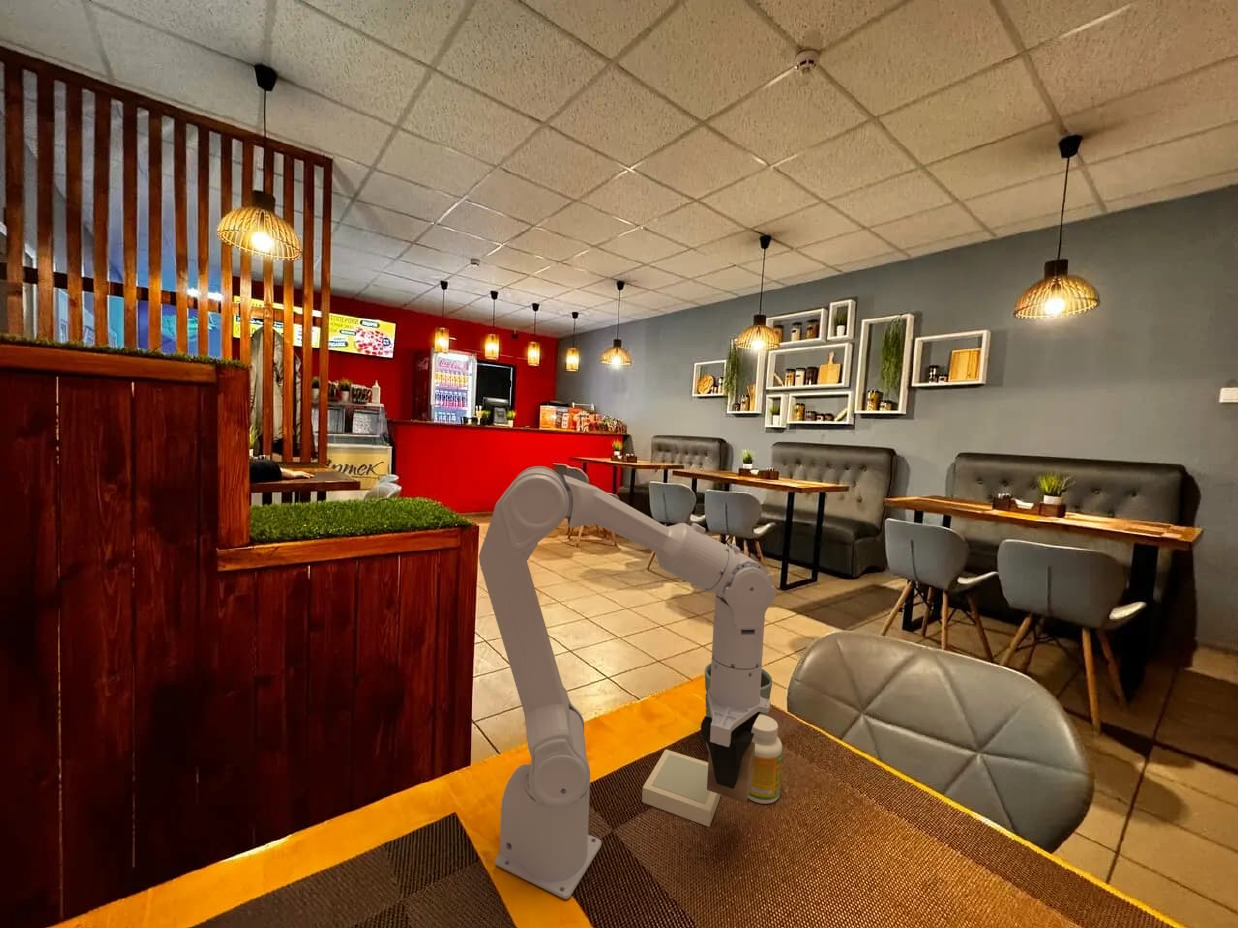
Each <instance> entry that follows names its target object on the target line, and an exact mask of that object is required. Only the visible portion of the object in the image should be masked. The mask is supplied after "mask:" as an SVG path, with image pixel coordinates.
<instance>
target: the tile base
mask: <svg viewBox="0 0 1238 928" xmlns="http://www.w3.org/2000/svg"><path fill="white" fill-rule="evenodd" d="M707 777H708V761H705V760H701V759H698V758H695V757H692V756H689V755H685V754H682V753H679V752H675V751H672V750H669V749H664V751H663V753H662V754H661V756H660V757H659V760H658V761H657V763H656V765H655V766H654V768H653V769H652V771H651V773H650V775H649V776H648V778H647V779H646V781H645V783H644V785H643V786H642V793H641V797H642V798H641V803H644V804H645V805H647V806H652V807H655V808H657V809H659V810H662V811H666V812H668V813H671V814H674V815H676V816H679V817H681V818H684V819H687V820H690V821H692V822H696V823H697V824H700V825H703V826H705V827H708V828H710V827H711V824H712V821H713V818H714V815H715V813H716V810H717V808H718V804H719V801H720V799H721V796H722V795H720V794H717V793H714V792H711V791H709V790H707Z"/></svg>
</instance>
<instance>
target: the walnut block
mask: <svg viewBox="0 0 1238 928" xmlns="http://www.w3.org/2000/svg"><path fill="white" fill-rule="evenodd" d="M754 756H755V742H751V744H750V745H749V747H748V749H747V750H746V751H745V753H744V755H743V758H742V762H741V766H740V771H739V776H738V779H737V782H736V785H735V788H734V789H732V788H729V787H726V786H723V785H720V784H717V783H716V780H715V775H714V770H713V764H712V758H711V754H710V751H708V757H707V758H708V759H707V760H708V761H707V762H708V777H707V790H709V791H711V792H714V793H717V794H720V795H721V796H723V797H727V798H730V799H732V800H734V801H738V802H741V803H744V804H747V802H748V799H749V798H748V795H749V792H750V788H751V785H752V781H753V773H754Z"/></svg>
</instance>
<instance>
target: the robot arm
mask: <svg viewBox="0 0 1238 928" xmlns="http://www.w3.org/2000/svg"><path fill="white" fill-rule="evenodd" d="M563 477H564V480H565V481H564V480H563V479H562V477H561V476H560V474H559V473H557V472H556V470H553V469H552V468H549V467H547V466H541V465H539V466H538V465H537V466H532V467H528V468H526V469H525V470H523V471H521V472H520V473H519V474H518V475H517V476H516V478H515V479H514V480H513V481H512V482H511V484H510V485H509V486H508V487H507V488H506V490H505V491H504V492H503V494H502V495H501V496H500V498H499V499H498V500H497V502H496V503H495V506H494V510H493V514H492V517H491V519H490V522H489V524H488V527H487V531H486V533H485V536H484V538H483V539H484V540H483V542H482V545H481V547H480V551H479V556H478V562H479V566H480V569H481V570H480V571H481V573H482V576H483V580H484V583H485V586H486V590H487V593H488V596H489V600H490V603H491V607H492V610H493V613H494V617H495V620H496V623H497V626H498V630H499V634H500V636H501V641H502V643H503V647H504V650H505V653H506V656H507V657H506V658H507V661H508V664H509V667H510V670H511V674H512V678H513V680H514V684H515V687H516V690H517V694H518V697H519V701H520V705H521V708H522V711H523V714H524V722H525V723H524V724H525V730H526V731H525V732H526V733H525V734H526V741H527V747H528V752H529V755H530V764H528V763H524V764H521V765H519V766H518V767H517V768H516V769H515V771H514V772H513V773H512V775H511V776H510V778H509V779H508V781H507V784H506V786H505V788H504V792H503V795H502V799H501V805H500V830H499V831H500V835H499V838H500V839H499V854H498V855H497V856H496V858H495V859H494V861H495V862H494V863H495V866H497V867H499V868H501V869H503V870H505V871H507V872H510V873H511V874H513V875H515V876H517V877H519V878H522V879H523V880H526V881H527V882H530V883H532V884H534V885H536V886H537V887H539V888H542V889H544V890H546V891H548V892H549V893H551V894H554V895H556V896H558V897H559V898H562V899H564V900H567V899H569V898H570V897H571V896H572V895H573V893H574V891H575V889H576V888H577V886H578V885H579V883H580V882H581V880H582V878H583V877H584V875H585V874H586V872H587V870H588V868H589V867H590V865H591V864H592V862H593V860H594V858H595V857H596V856H597V854H598V852H599V851H600V849H601V847H602V840H601V839H600V838H597V837H595V836H593V835H590V834H589V815H590V813H589V812H590V791H591V790H590V788H591V769H590V767H591V766H590V763H589V761H588V754H587V746H586V738H585V720H584V717H583V715H582V713H581V712H580V711H579V710H578V709H577V708H576V706H574V705H573V703H572V702H571V700H570V696H569V694H568V691H567V689H566V687H564V685H563V682H562V678H561V674H560V671H559V667H558V663H557V661H556V657H555V653H554V651H553V646H552V643H551V639H550V636H549V632H548V629H547V626H546V622H545V620H544V619H545V618H544V616H543V615H544V614H543V612H542V608H541V606H540V605H541V604H540V602H539V598H538V595H537V591H536V588H535V583H534V581H533V577H532V574H531V569H530V567H529V564H528V560H529V559H530V557H531V556H532V554H533V552H534V551H535V550H536V549H537V546H538V545H539V543H540V542H541V541H542V540H544V538H546V537H547V536H549V535H550V534H551V533H553V532H554V531H555V530H556V529H557V528H558V527H559V526H561V524H562V523H563V522H564V520H565V518H566V519H567V520H566V521H567V524H568V528H569V529H570V528H571V529H572V528H573V529H574V528H578V527H579V528H580V527H584V526H589V525H597V526H599V527H601V528H603V529H606V530H607V531H610V532H612V533H614V534H616V535H618V536H620V537H623V538H625V539H627V540H628V541H630V542H632V543H634V544H637V545H638V546H639V545H640V546H641V547H643V548H645V549H648V550H650V551H652V552H653V553H655V555H656V558H657V562H658V566H659V567H660V569H662V570H664V571H665V572H668V573H669V574H671V575H673V576H675V577H677V578H679V579H681V580H682V581H685V582H687V583H689V584H691V585H692V586H694V587H696V588H699V589H700V590H702V591H704V592H707V593H710V594H716V595H715V598H714V615H713V623H712V624H713V626H712V642H711V643H712V644H711V663H710V664H711V679H710V688H709V690H708V701H709V707H710V712H711V717H712V718H710V717H707V716H706V715H705V716H704V717H703V719H702V721H701V722H700V732H701V735H702V737H703V738H704V740H705V744H706V743H707V745H708V748H709V750H710V754H711V758H712V764H713V770H714V775H715V780H716V783H717V784H720V785H723V786H726V787H729V788H732V789H734V788H735V785H736V782H737V779H738V776H739V771H740V766H741V762H742V758H743V755H744V753H745V751H746V750H747V749H748V747H749V745H750V744H751V742H752V739H753V736H754V733H751V731H752V728H753V725H754V723H755V721H756V719H757V717H758V716H759V714H760V713H761V712H763V713H767V714H768V713H769V712H770V710H771V700H770V699H765V698H762V697H761V696H760V689H761V672H762V669H763V668H762V667H763V653H764V652H763V651H764V637H765V635H764V634H765V633H764V632H765V621H766V620H765V618H766V617H765V616H766V612H767V610H768V609H769V608H770V606H771V605H772V604H773V602H774V601H775V598H776V597H777V591H778V589H777V587H775V586H774V581H773V578H772V574H770V573H769V572H770V571H769V570H768V569H767V567H765V566H764V565H762V564H761V563H759V562H757V561H756V560H754V559H753V558H751V557H750V556H748V555H746V554H744V553H743V552H742V551H741V549H740V547H738V546H737V545H735V544H732V543H729V544H728V545H726V544H724V543H722V542H721V541H720V540H719V541H718V540H717V539H715V538H713V537H711V536H709V535H708V534H706V533H705V532H706V528H705V527H703V526H701V525H700V524H698V523H696V522H692V524H691V525H689V524H687V523H685V522H680V523H676V524H673V525H669V526H666V525H664V524H662V523H660V522H659V521H657V520H655V519H653V518H651V517H650V516H648V515H646V514H645V513H643V512H641V511H640V510H637V509H635V508H634V507H633V506H630V505H628V504H627V503H625V502H623V501H622V500H619V499H618V498H617V497H614V496H613V495H612V494H609V493H607V492H606V491H604V490H602V489H600V488H599V487H597V486H595V485H593V484H589V483H587V482H585V481H582V480H579V479H577V478H574V477H571V476H570V475H569V476H568V475H566V474H563Z"/></svg>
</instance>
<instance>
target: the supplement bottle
mask: <svg viewBox="0 0 1238 928" xmlns="http://www.w3.org/2000/svg"><path fill="white" fill-rule="evenodd" d="M778 732H779V725H778V722H777V721H776V720H775V719H774V718H772V717H770V716H768V715H767V716H765V715H760V714H759V716H758V717H757V719H756V721H755V723H754V725H753V728H752V731H751V733H754V736H753V739H752V742H755V756H754V773H753V781H752V785H751V788H750V792H749V795H748V799H749V800H750V801H752V802H755V803H757V804H758V803H759V804H772V803H775V802H776V801H778V799H779V798H780V793H781V781H782V779H781V776H782V761H783V744H782V741H781V739H780V738H779V736H778V734H779V733H778Z"/></svg>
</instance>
